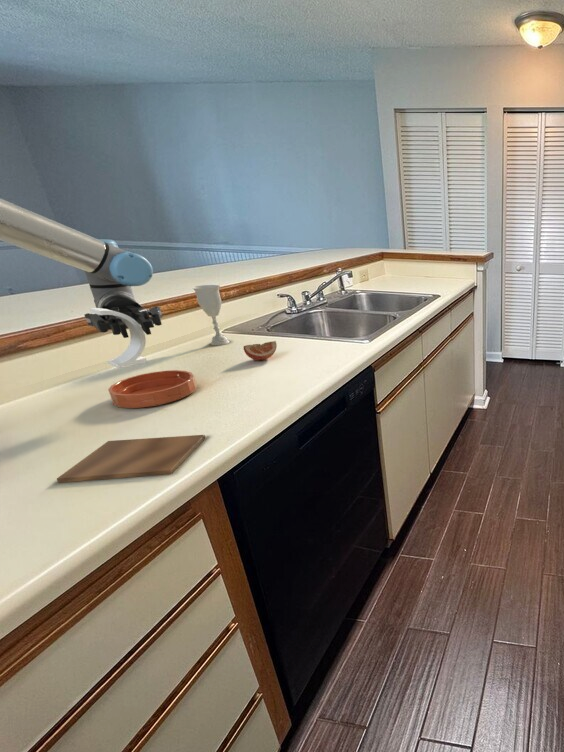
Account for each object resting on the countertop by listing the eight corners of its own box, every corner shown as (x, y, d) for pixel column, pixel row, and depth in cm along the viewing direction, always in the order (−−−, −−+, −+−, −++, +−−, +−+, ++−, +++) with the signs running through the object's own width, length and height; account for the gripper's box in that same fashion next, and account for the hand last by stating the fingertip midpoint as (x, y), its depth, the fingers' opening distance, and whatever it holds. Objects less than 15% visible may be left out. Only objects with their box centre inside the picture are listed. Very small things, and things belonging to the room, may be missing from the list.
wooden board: (58, 482, 67) (56, 478, 67) (109, 444, 78) (108, 440, 78) (171, 473, 70) (170, 469, 69) (205, 438, 81) (204, 434, 80)
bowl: (96, 412, 90) (90, 397, 88) (140, 385, 103) (135, 371, 102) (176, 407, 92) (171, 393, 91) (208, 381, 106) (205, 368, 105)
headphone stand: (108, 364, 90) (89, 308, 86) (142, 357, 95) (126, 304, 91) (118, 368, 88) (99, 311, 84) (152, 360, 93) (136, 306, 89)
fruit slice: (275, 353, 127) (272, 338, 125) (282, 359, 123) (279, 343, 121) (244, 359, 122) (240, 343, 120) (250, 365, 117) (246, 348, 116)
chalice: (201, 345, 134) (186, 288, 127) (218, 339, 140) (204, 284, 133) (222, 346, 133) (207, 289, 126) (238, 340, 139) (225, 285, 132)
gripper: (167, 320, 108) (188, 340, 93) (81, 331, 97) (88, 355, 82) (158, 291, 105) (178, 306, 90) (68, 298, 94) (74, 317, 79)
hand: (135, 329), depth 86 cm, fingers closed on headphone stand, 3 cm apart
